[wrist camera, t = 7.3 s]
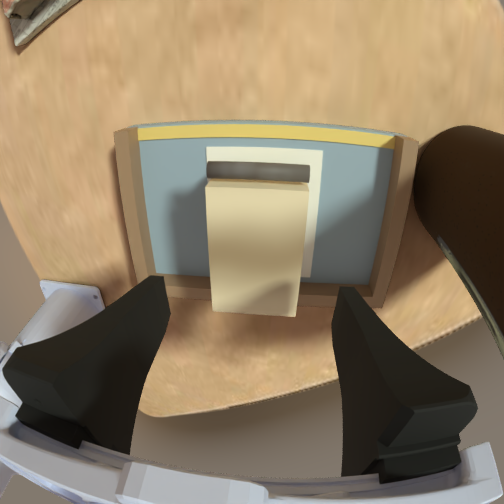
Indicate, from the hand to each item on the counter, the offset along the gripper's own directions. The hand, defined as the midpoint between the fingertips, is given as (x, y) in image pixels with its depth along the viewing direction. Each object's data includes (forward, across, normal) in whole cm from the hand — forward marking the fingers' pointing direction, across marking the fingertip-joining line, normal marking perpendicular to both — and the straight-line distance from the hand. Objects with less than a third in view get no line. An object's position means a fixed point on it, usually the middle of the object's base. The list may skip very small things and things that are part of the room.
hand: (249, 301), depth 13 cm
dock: (+10, 0, 0) cm, 10 cm away
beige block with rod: (+9, 0, 0) cm, 9 cm away
